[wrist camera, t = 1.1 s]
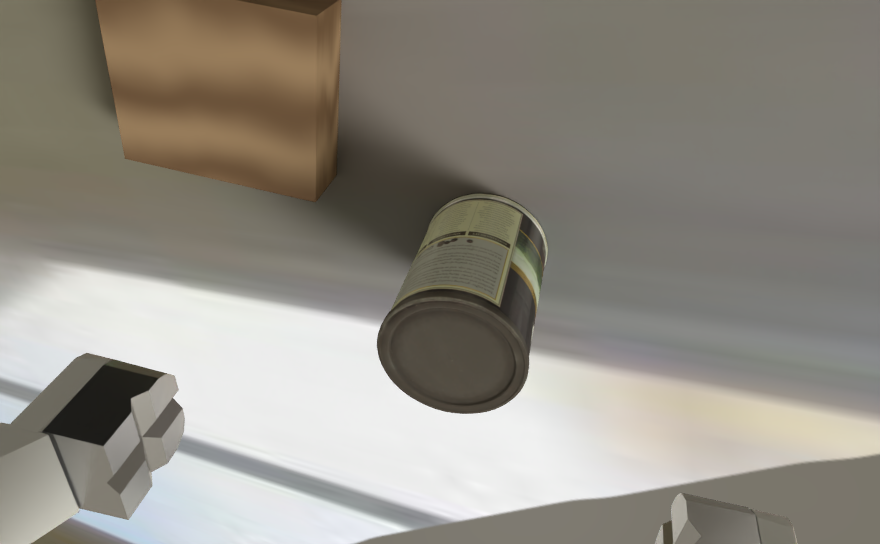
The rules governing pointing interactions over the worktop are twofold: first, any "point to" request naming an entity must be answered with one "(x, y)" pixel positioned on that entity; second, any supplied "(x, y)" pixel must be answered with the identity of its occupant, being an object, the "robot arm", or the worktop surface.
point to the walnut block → (228, 88)
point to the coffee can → (467, 307)
